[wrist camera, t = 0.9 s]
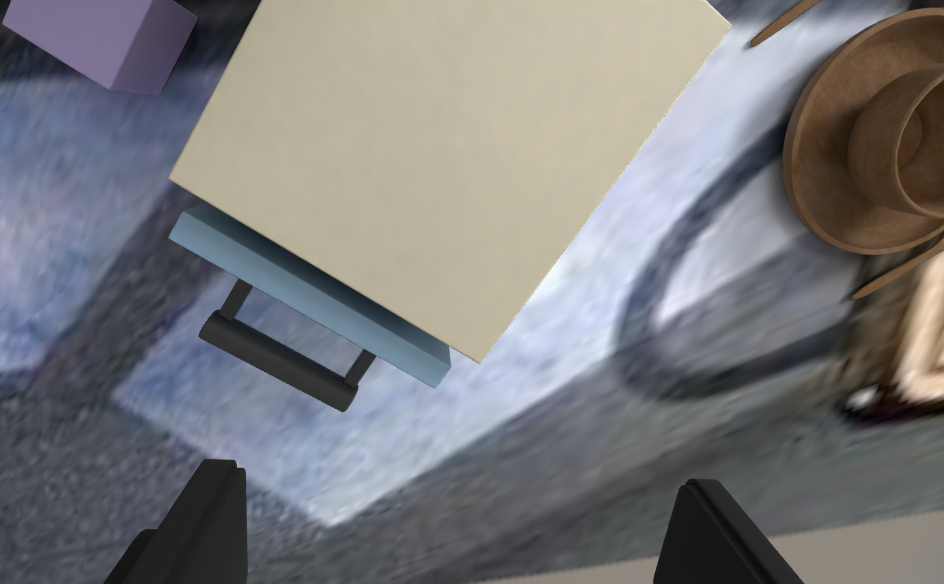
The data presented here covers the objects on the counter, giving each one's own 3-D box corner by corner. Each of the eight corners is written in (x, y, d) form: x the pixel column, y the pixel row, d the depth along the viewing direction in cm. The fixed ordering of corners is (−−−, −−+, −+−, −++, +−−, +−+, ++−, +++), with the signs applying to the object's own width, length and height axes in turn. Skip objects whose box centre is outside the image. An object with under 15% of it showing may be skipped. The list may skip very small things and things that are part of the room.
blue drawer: (389, 387, 28) (379, 465, 22) (193, 280, 25) (115, 332, 19) (586, 108, 24) (645, 102, 18) (383, -54, 22) (367, -131, 15)
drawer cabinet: (463, 295, 28) (480, 365, 20) (250, 161, 25) (166, 178, 17) (631, 58, 25) (733, 25, 17) (414, -129, 22) (409, -282, 14)
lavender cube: (71, 41, 22) (0, 23, 19) (109, -44, 22) (43, -79, 18) (159, 96, 23) (108, 90, 20) (199, 18, 23) (154, -4, 19)
